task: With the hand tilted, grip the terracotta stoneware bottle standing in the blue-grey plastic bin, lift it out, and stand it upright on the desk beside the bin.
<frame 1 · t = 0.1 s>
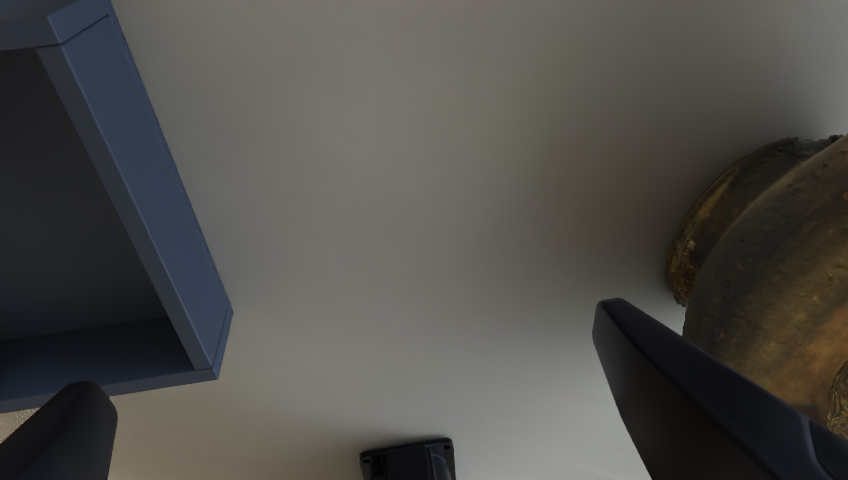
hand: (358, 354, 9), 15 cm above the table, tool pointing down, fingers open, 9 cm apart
pottery vessel: (753, 221, 29), on the table
bin: (20, 203, 22), on the table
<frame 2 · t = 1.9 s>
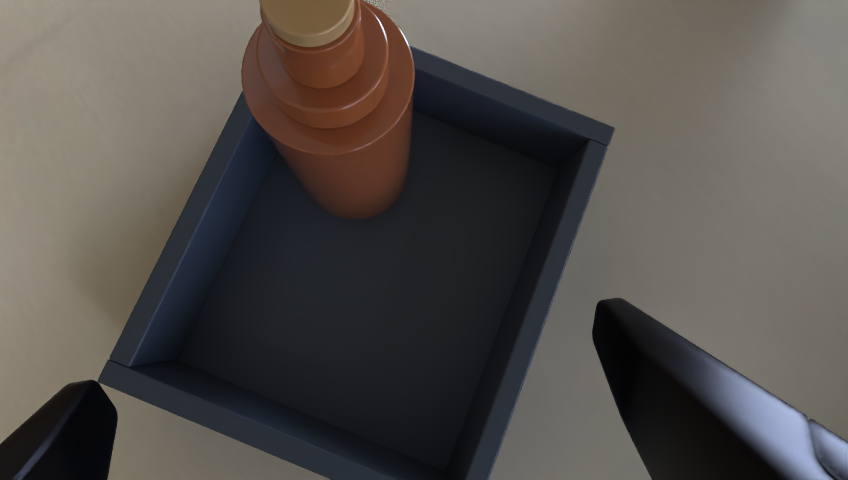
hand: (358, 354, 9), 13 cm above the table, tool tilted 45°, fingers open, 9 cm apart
bottle: (355, 167, 23), resting on bin
bin: (377, 261, 23), on the table
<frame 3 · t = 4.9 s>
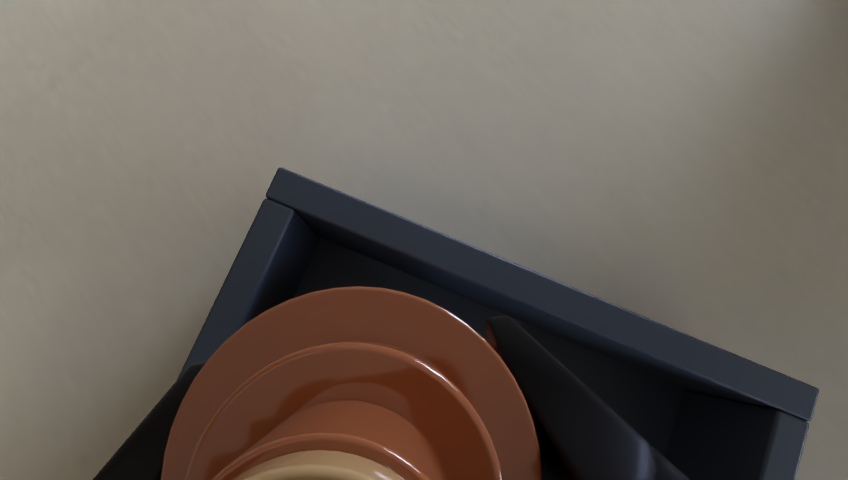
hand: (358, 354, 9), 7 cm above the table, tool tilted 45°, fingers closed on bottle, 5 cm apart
bottle: (380, 390, 15), point 1 cm above the table, touching bin, gripper
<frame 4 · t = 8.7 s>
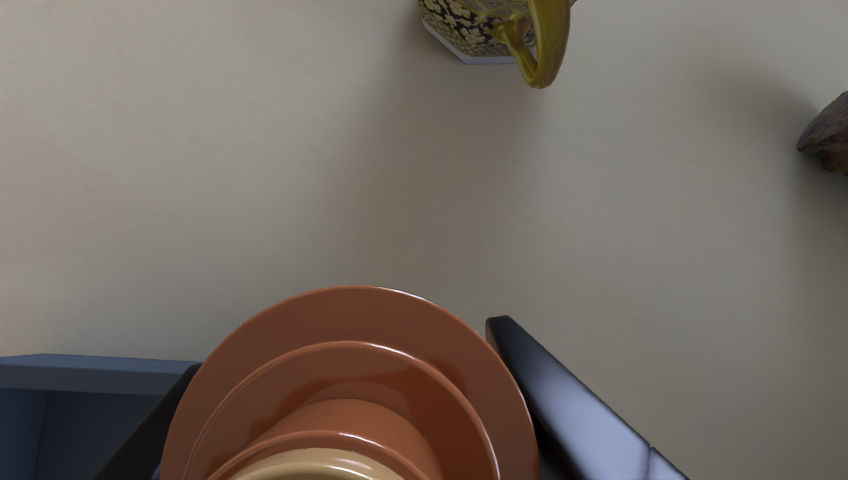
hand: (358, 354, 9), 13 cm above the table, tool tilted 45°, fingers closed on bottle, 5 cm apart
bottle: (380, 390, 15), point 7 cm above the table, touching gripper
ceramic cup: (488, 34, 25), on the table
when the fingers open (6 cm above the table, at t = 12.4 s): bottle stays where it is, on the table.
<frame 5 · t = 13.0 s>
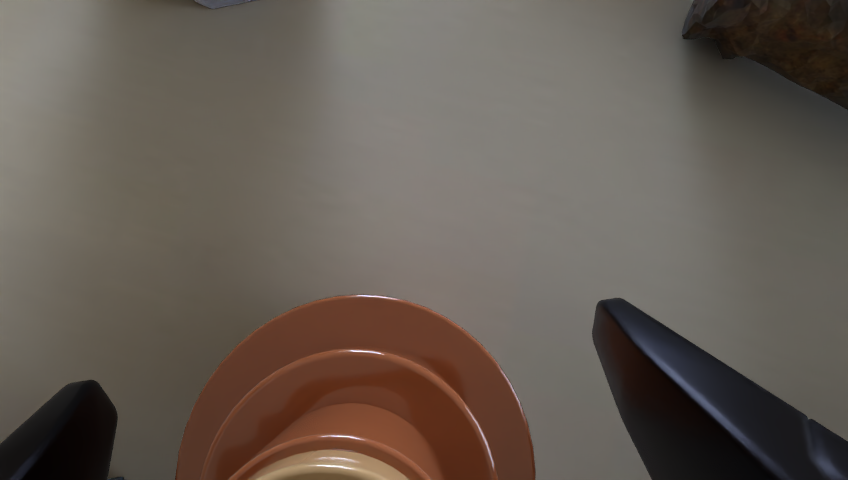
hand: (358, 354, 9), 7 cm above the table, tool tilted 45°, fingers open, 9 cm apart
bottle: (381, 392, 16), on the table
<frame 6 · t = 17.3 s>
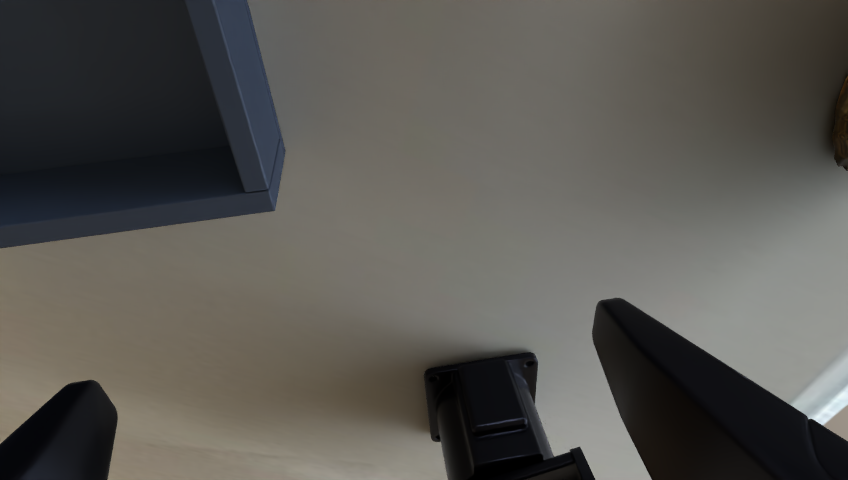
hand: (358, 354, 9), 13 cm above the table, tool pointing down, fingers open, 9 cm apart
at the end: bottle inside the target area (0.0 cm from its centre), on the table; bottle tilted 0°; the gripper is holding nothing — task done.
